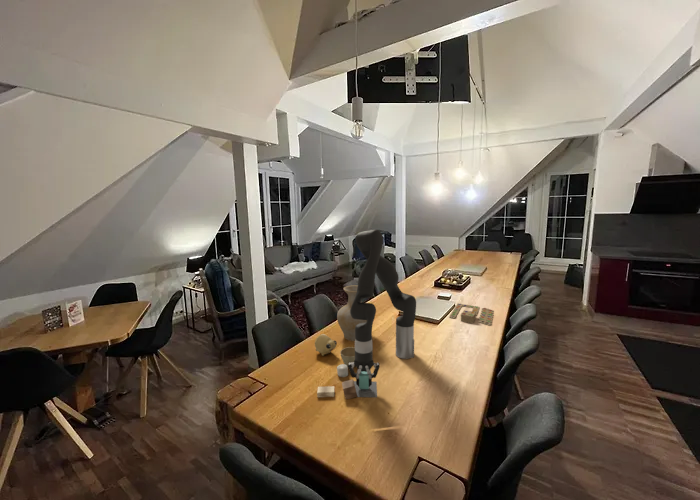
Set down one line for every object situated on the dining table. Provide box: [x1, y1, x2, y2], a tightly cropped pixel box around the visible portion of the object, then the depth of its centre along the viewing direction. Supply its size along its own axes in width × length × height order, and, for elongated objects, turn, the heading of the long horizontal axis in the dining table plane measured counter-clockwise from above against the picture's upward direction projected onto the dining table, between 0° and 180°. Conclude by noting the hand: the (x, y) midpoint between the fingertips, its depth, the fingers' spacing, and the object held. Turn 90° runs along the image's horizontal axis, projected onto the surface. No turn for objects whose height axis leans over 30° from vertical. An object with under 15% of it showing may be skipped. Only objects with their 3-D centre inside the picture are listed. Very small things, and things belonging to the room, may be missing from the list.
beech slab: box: [316, 385, 335, 398], centre depth 126 cm, size 7×4×3 cm, turn 91°
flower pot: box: [339, 346, 356, 368], centre depth 149 cm, size 10×10×7 cm
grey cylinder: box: [336, 363, 349, 378], centre depth 140 cm, size 5×5×4 cm
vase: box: [336, 284, 367, 342], centre depth 179 cm, size 22×22×30 cm
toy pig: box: [314, 333, 338, 357], centre depth 160 cm, size 10×12×11 cm
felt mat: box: [354, 380, 378, 398], centre depth 129 cm, size 11×11×1 cm
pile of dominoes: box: [448, 303, 494, 327], centre depth 213 cm, size 35×27×6 cm
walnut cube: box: [341, 378, 358, 400], centre depth 125 cm, size 5×5×5 cm
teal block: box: [359, 371, 369, 389], centre depth 128 cm, size 4×4×6 cm
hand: (364, 385), depth 129 cm, fingers closed on teal block, 4 cm apart
